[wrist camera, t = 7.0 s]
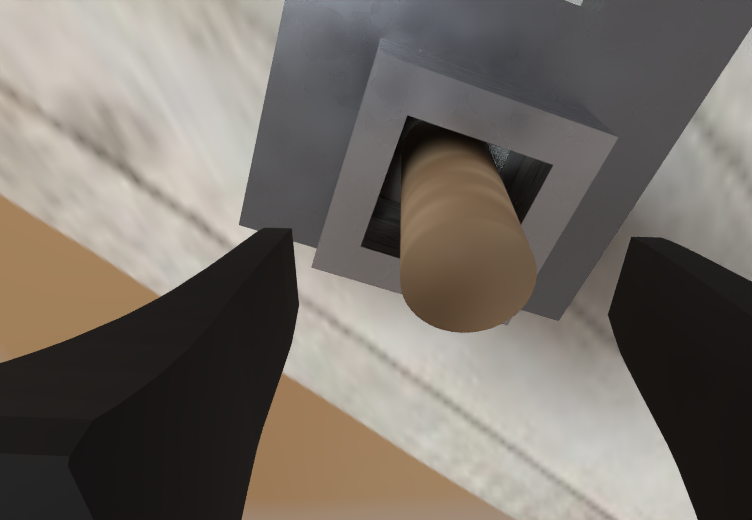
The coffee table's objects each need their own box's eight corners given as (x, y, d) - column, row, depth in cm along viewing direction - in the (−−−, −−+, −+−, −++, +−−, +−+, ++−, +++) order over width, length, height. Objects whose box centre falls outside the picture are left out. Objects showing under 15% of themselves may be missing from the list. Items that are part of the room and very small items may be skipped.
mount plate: (848, -192, 15) (1006, -241, 11) (547, 293, 24) (574, 360, 20) (383, -411, 13) (374, -561, 9) (251, 203, 22) (219, 257, 18)
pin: (492, 114, 20) (549, 222, 12) (480, 196, 21) (523, 335, 14) (403, 111, 20) (403, 216, 12) (399, 193, 22) (397, 329, 14)
